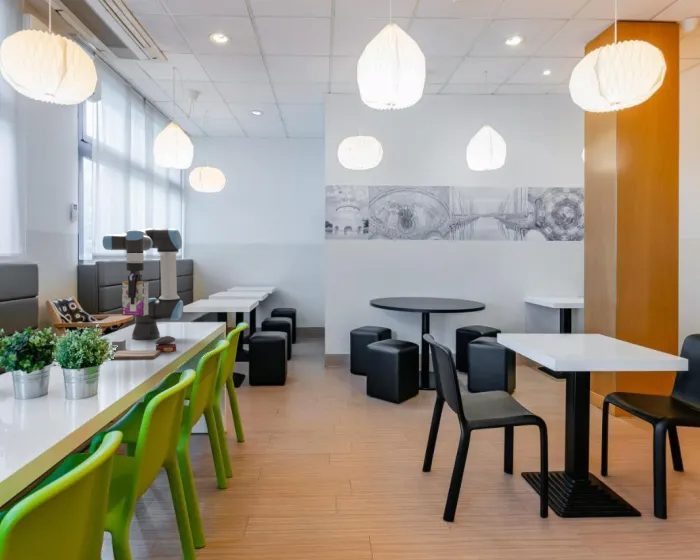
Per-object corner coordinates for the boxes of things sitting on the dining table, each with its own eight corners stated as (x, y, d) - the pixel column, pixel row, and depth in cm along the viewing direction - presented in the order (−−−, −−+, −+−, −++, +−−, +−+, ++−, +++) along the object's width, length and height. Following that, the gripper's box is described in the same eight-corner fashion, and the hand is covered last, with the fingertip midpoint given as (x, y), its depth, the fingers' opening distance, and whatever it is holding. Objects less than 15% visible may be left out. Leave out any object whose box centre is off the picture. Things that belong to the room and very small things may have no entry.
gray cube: (115, 349, 245) (115, 339, 245) (125, 349, 246) (125, 339, 245) (112, 351, 240) (111, 341, 240) (122, 351, 241) (122, 341, 240)
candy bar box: (121, 315, 226) (121, 281, 225) (127, 314, 231) (127, 280, 230) (143, 316, 225) (143, 281, 224) (149, 314, 230) (149, 281, 229)
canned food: (157, 361, 239) (147, 344, 238) (165, 355, 249) (155, 338, 248) (176, 352, 238) (166, 334, 237) (183, 346, 248) (174, 329, 247)
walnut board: (119, 353, 234) (119, 350, 234) (160, 353, 237) (160, 350, 237) (108, 359, 221) (108, 356, 220) (153, 359, 223) (153, 356, 223)
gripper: (133, 262, 235) (133, 308, 236) (120, 262, 217) (120, 312, 218) (148, 262, 236) (149, 308, 237) (137, 262, 218) (137, 312, 219)
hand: (135, 310), depth 228 cm, fingers closed on candy bar box, 6 cm apart
